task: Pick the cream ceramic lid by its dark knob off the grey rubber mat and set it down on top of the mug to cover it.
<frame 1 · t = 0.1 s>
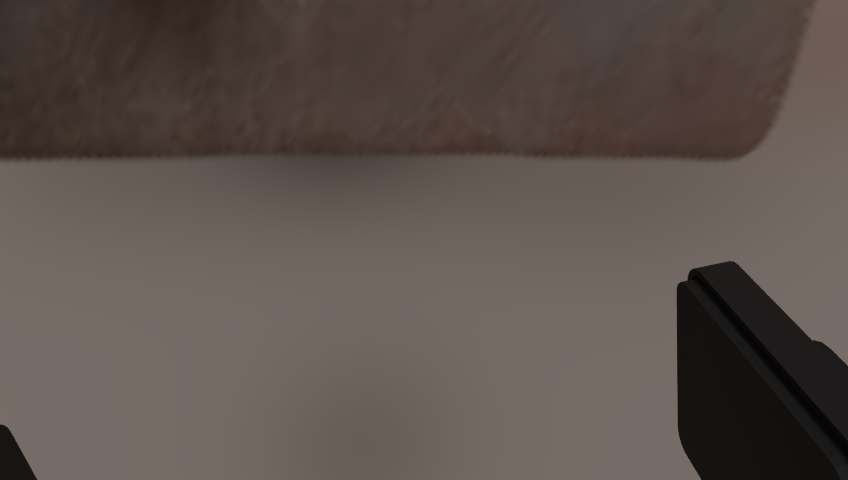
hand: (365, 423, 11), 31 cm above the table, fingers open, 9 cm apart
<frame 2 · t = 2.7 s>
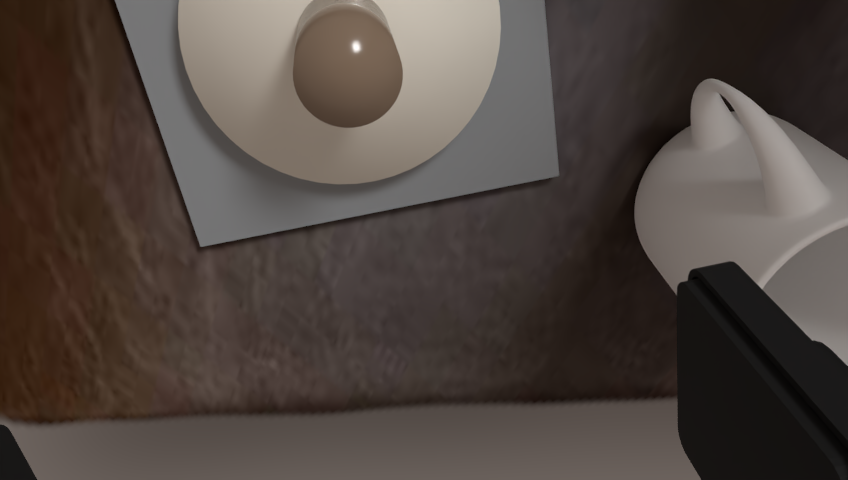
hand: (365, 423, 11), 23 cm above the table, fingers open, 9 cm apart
mug: (706, 161, 36), on the table
lid: (342, 30, 30), point 1 cm above the table, touching mat
mat: (342, 26, 31), on the table
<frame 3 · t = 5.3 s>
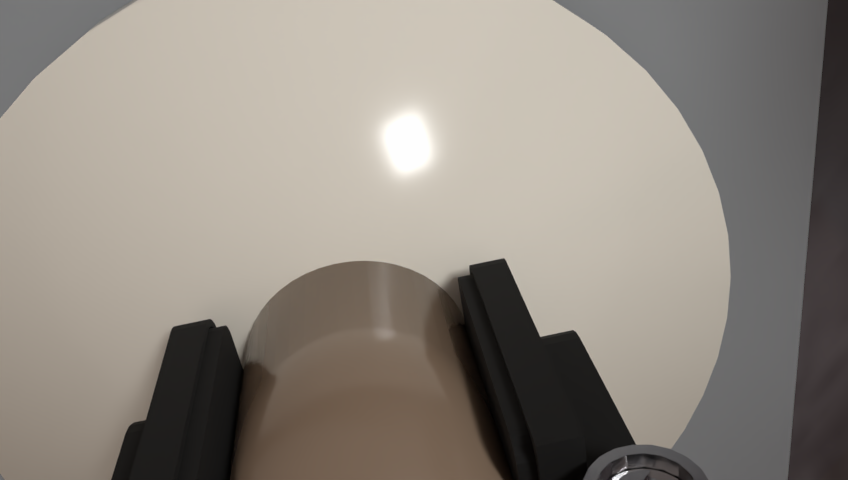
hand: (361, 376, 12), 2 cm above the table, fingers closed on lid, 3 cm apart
lid: (356, 317, 13), point 1 cm above the table, touching gripper, mat
mat: (354, 298, 14), on the table
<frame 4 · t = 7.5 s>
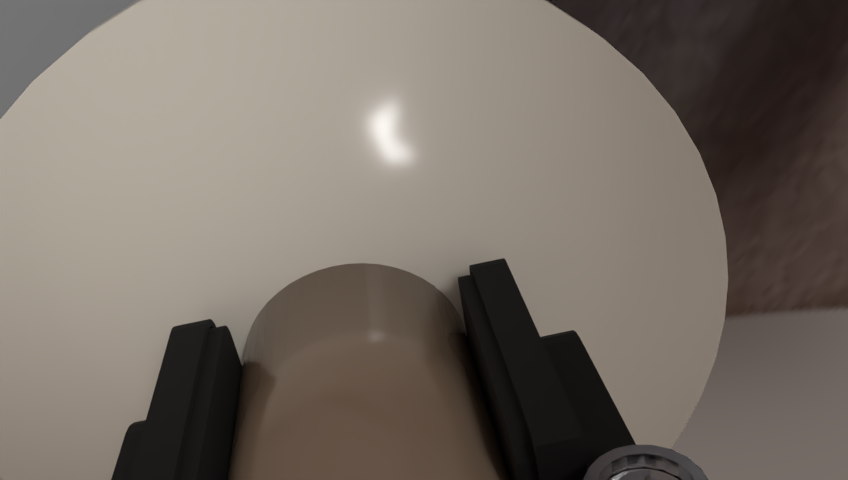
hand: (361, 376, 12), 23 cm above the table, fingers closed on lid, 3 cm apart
lid: (354, 319, 13), point 21 cm above the table, touching gripper
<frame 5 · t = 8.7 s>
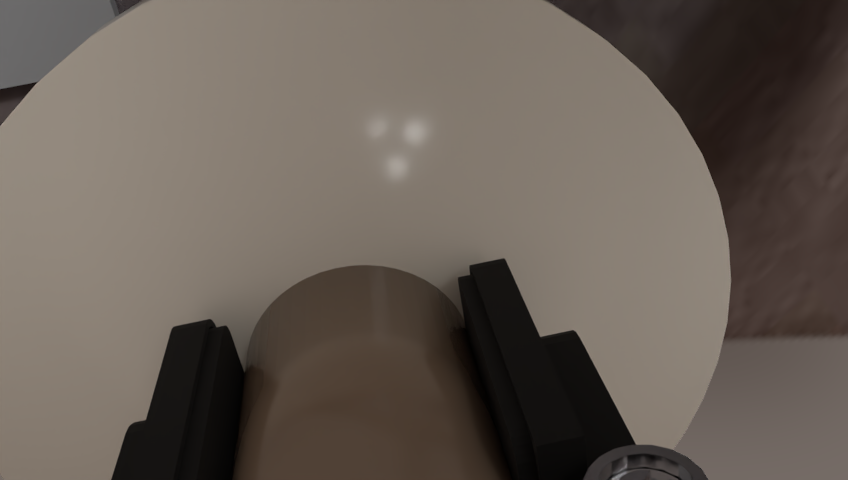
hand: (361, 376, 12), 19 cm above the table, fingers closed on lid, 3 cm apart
lid: (357, 320, 13), point 17 cm above the table, touching gripper
when the fingers open (14 cm above the table, at t = 9.8 s): lid drops 2 cm, resting on mug.
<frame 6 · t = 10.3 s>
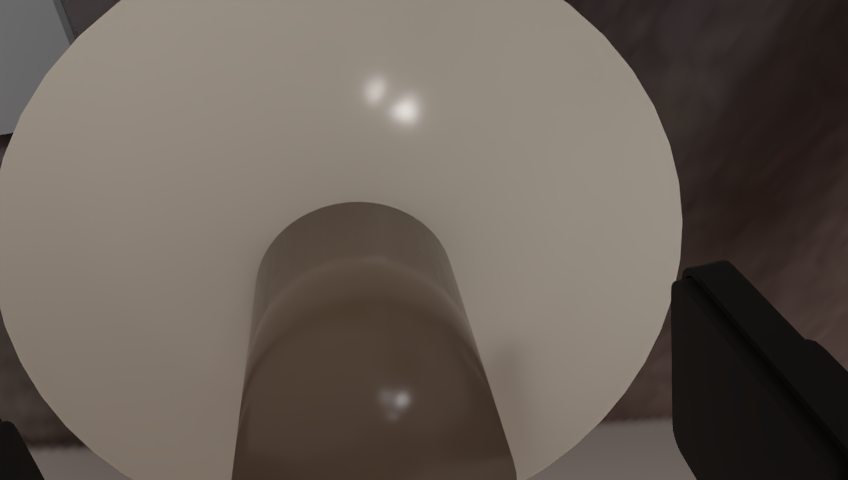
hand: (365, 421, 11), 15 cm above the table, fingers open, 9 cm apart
lid: (353, 258, 15), point 11 cm above the table, touching mug
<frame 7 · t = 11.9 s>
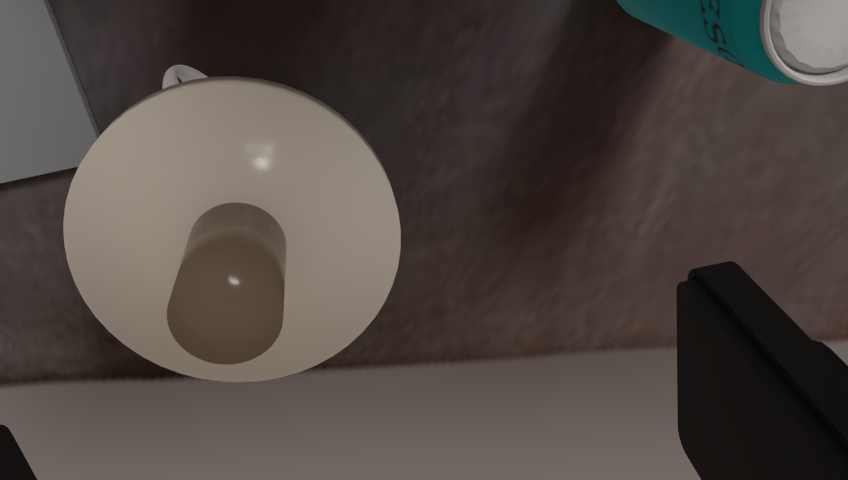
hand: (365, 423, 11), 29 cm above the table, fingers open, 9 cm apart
mug: (257, 146, 40), on the table, touching lid
lid: (240, 232, 30), point 11 cm above the table, touching mug
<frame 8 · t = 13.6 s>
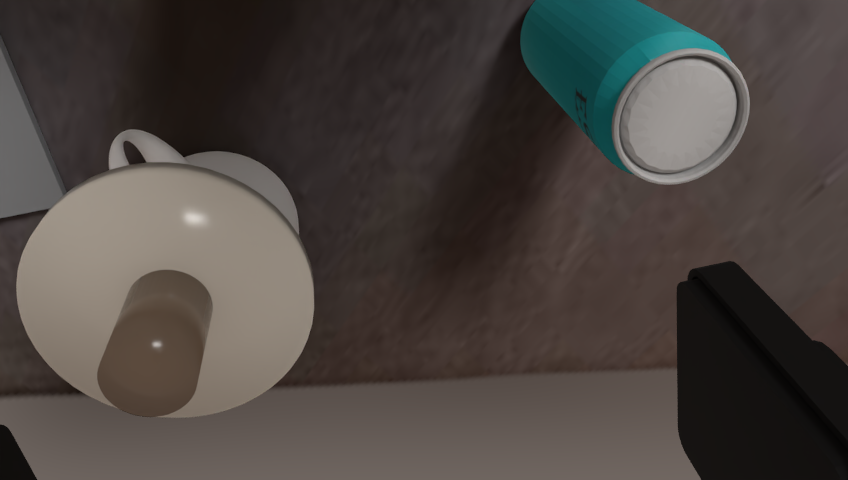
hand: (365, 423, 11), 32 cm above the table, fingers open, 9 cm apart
mug: (205, 191, 44), on the table, touching lid
lid: (174, 291, 34), point 11 cm above the table, touching mug
beverage can: (564, 27, 42), on the table
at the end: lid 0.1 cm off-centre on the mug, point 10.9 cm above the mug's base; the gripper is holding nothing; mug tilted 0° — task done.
